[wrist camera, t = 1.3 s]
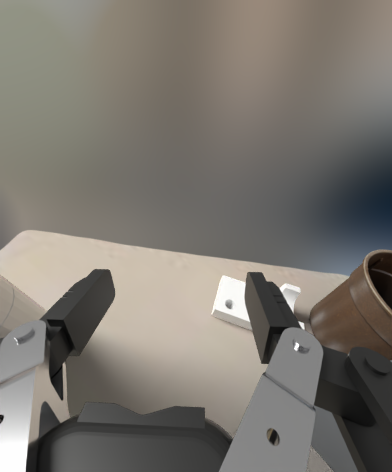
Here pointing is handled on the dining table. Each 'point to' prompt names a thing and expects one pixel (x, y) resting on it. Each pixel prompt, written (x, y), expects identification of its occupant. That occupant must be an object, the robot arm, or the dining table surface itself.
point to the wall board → (331, 442)
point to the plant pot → (358, 309)
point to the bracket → (243, 301)
